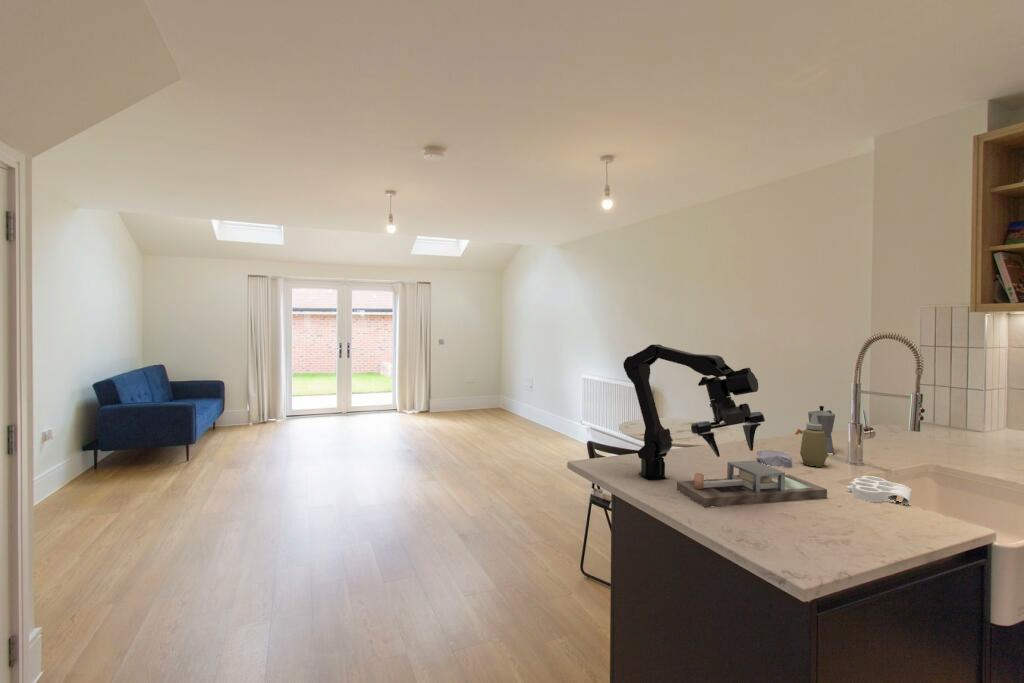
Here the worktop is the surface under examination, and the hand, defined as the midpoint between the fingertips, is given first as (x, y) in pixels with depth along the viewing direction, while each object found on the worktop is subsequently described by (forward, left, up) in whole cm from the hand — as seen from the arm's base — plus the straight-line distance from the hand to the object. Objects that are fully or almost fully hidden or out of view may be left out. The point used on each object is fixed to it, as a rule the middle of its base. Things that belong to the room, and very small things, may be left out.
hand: (735, 453), depth 134 cm
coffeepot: (+67, +39, -13) cm, 79 cm away
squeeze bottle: (+49, +24, -13) cm, 56 cm away
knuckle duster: (+43, -5, -13) cm, 45 cm away
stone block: (+37, +30, -13) cm, 50 cm away
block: (+8, +2, -10) cm, 13 cm away
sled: (+1, +2, -10) cm, 10 cm away
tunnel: (+8, +2, -10) cm, 13 cm away
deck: (+7, +2, -13) cm, 15 cm away
